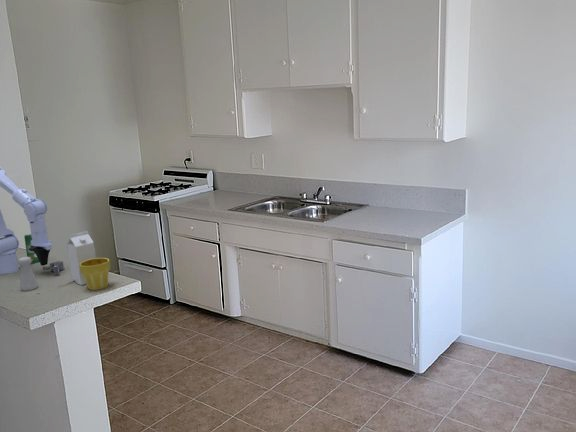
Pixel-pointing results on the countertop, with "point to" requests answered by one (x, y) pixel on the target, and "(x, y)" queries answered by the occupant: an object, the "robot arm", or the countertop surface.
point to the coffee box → (30, 249)
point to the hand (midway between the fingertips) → (44, 264)
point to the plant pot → (95, 272)
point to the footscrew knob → (56, 267)
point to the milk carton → (79, 254)
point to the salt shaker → (27, 275)
